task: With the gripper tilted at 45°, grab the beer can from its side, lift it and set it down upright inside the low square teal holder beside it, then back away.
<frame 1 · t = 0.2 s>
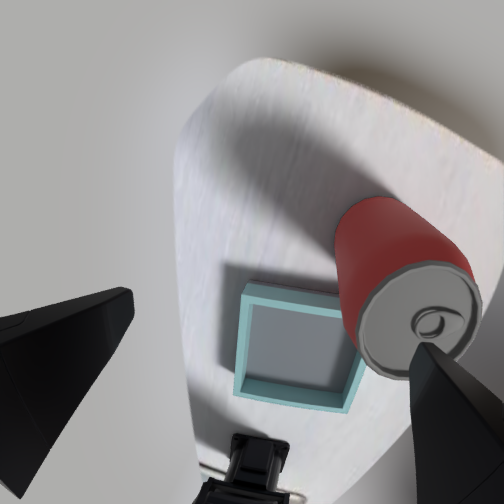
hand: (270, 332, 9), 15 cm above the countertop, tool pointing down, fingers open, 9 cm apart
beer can: (377, 239, 22), on the countertop
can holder: (303, 344, 26), on the countertop
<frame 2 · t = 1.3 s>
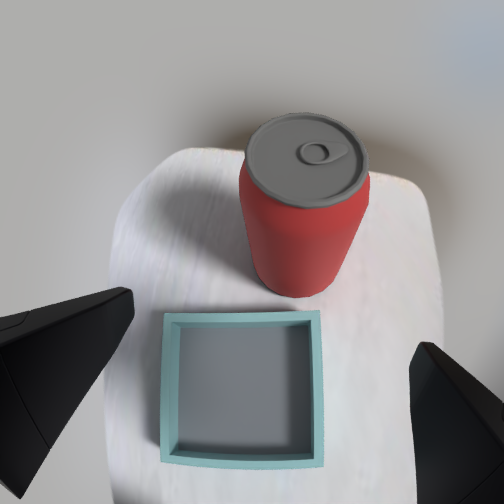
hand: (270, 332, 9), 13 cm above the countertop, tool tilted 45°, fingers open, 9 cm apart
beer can: (296, 259, 25), on the countertop
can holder: (243, 391, 21), on the countertop
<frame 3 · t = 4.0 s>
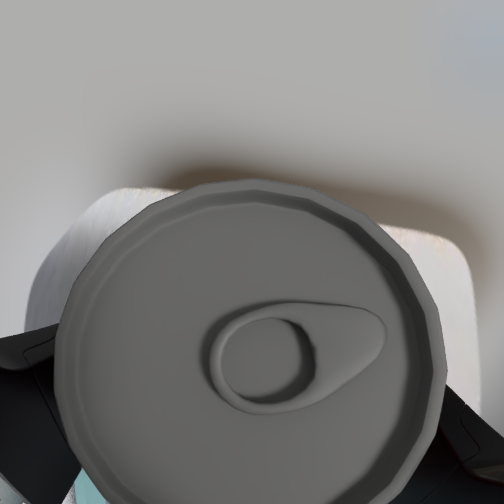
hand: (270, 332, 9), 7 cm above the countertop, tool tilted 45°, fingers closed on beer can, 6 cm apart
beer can: (267, 383, 15), on the countertop, touching gripper
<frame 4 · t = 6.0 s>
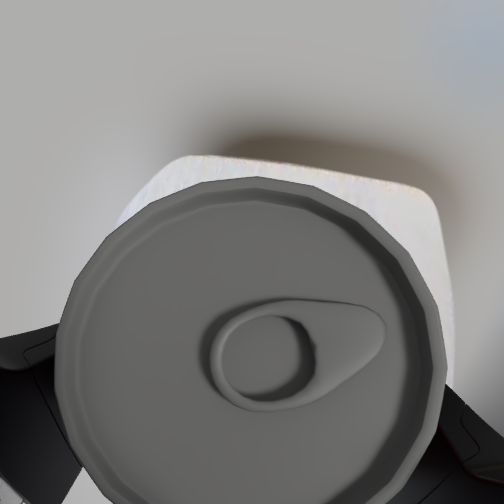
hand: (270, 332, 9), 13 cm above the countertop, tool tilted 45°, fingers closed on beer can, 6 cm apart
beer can: (268, 382, 15), point 6 cm above the countertop, touching gripper
when the fingers open (8 cm above the countertop, at t = 7.9 s): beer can drops 1 cm, resting on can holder.
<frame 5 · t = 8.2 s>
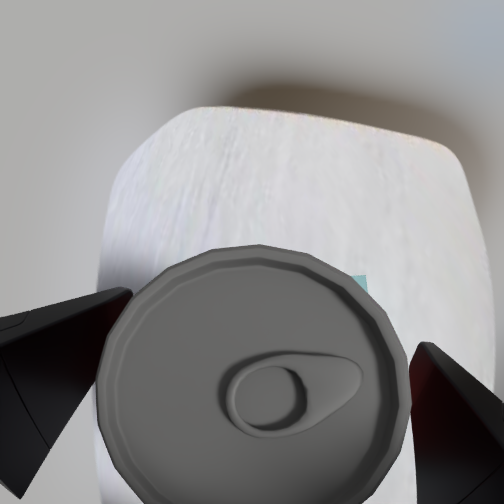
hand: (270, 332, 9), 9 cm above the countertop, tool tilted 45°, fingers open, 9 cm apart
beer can: (268, 386, 16), resting on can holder
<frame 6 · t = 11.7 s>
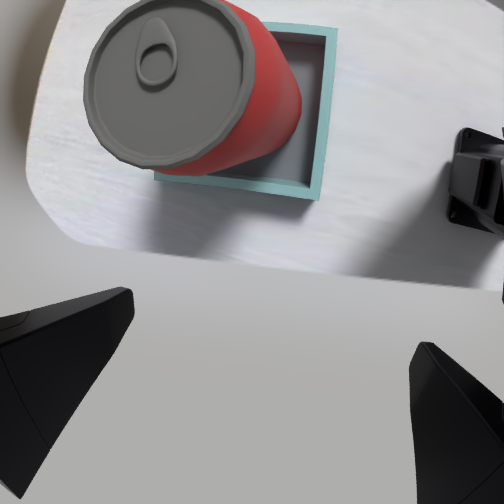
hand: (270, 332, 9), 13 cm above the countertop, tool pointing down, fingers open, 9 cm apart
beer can: (250, 106, 19), resting on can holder
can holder: (249, 105, 19), on the countertop
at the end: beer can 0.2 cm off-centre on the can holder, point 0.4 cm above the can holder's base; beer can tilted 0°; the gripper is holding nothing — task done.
